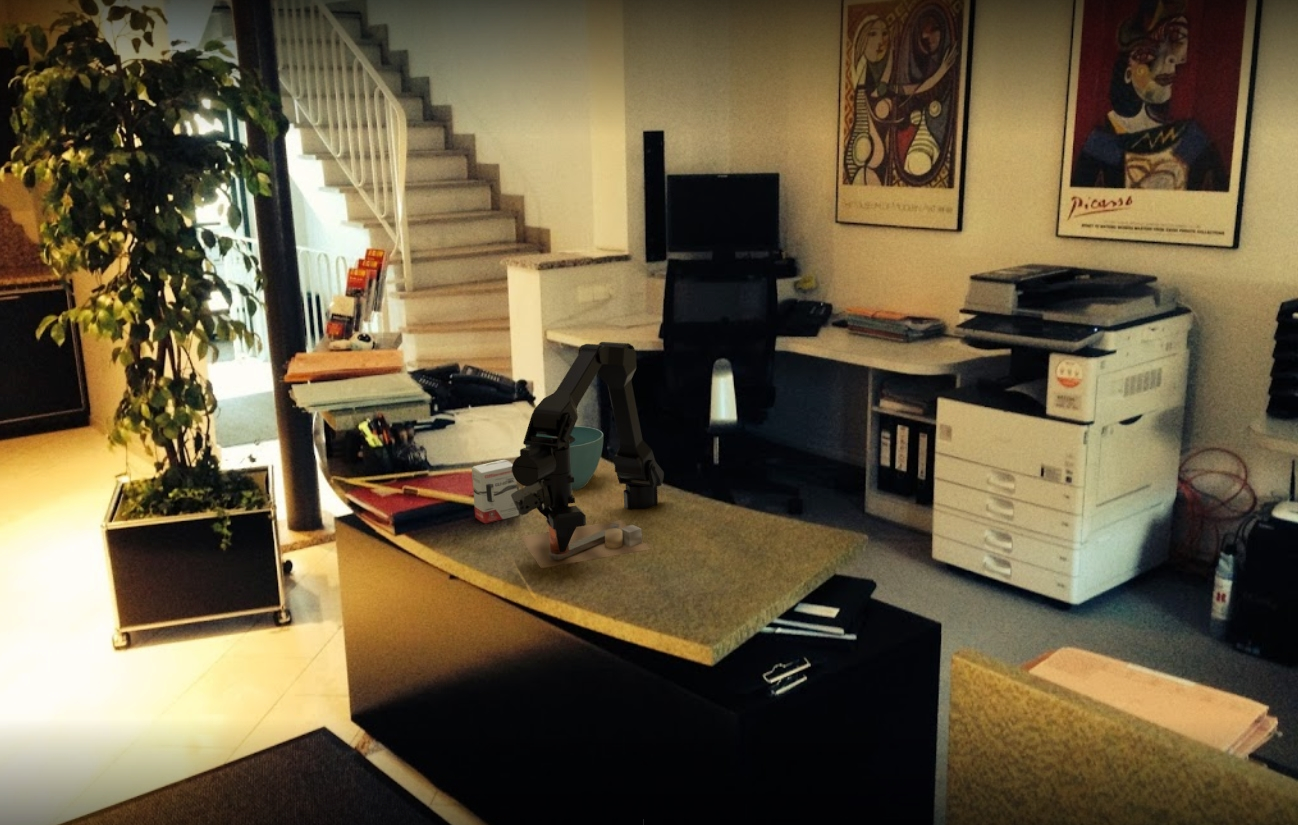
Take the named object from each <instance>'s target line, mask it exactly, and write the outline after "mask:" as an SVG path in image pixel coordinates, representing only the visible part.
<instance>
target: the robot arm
mask: <svg viewBox="0 0 1298 825" xmlns="http://www.w3.org/2000/svg"><path fill="white" fill-rule="evenodd" d="M636 370H637V352H636V350H635V347H634V345H632V344H631V343H629V342H628V343H627V342H615V341H614V342H613V341H612V342H611V341H600V342H599V343H598V344H596V343H585V344H582V345H581V346H579V349H578V354H577V356H576V358H575V359H574V361H573V363H572V364H571V365H570V367H569V369H568V371H567V372H566V374H565V376H564V377H563V379H562V380H561V382H560V384H559V385H558V387H557V388H556V390H554V392H553V393H552V394H549V395H548V396H546V397H544V398H542V400H541V401H540V402H539V403H538V404H537V405H536V407H535V408H534V409H533V411H532V414H531V415H530V416H531V417H530V419H529V422H528V427H527V430H526V433H525V436H524V438H523V439H524V440H523V442H522V443H523V445H524V446H525V445H530V446H529V447H527V448H526V447H523V448H520V450H519V456H517V457H516V458H515V459H514V461H513V462H512V464H513V466H512V473H513V476H514V478H515V479H516V481H517V484H518V483H519V485H522V486H524V487H522V488H520V489H517V491H516V492H514V493H512V494H511V497H512V499H513V501H514V504H515V506H516V508H517V510H518V511H519V515H520V516H524V515H527V514H529V512H531V511H533V510H536V509H537V511H538V512H539V513H541V515H543V516H544V517H545V520H546V521H545V522H546V523H547V525H548V524H549V525H550V526H551V527H552V528H553V529H554V530H555V534H556V539H557V544H558V548H559V551H560V552H565V551H566V548H567V546H568V544H569V542H570V539H571V537H572V535H573V533H574V531H575V529H576V527H582V526H587V518H586V514H585V513H584V512H583V510H582V509H581V508H580V507H578V506H577V505H571V506H570V504H576V498H575V496H574V495H573V491H572V484H571V483H572V482H574V477H573V476H572V474H571V459H570V444H571V443H573V442H575V438H574V437H573V436H571V435H570V434H571V432H572V430H573V429H574V426H576V423H577V421H578V419H579V416H578V407H579V405H580V402H581V401H582V399H583V397H584V396H585V394H586V392H587V391H588V389H589V387H590V386H591V384H592V382H593V381H594V379H595V377H596V375H598V376H599V377H600V379H601V381H603V382H604V383H605V384H606V385H607V389H608V392H609V399H610V403H611V408H612V412H613V417H614V422H615V423H614V424H615V428H616V433H617V437H618V443H619V446H618V449H617V451H616V453H615V454H614V456H613V458H612V461H613V465H614V472H615V473H616V476H617V480H618V483H619V485H625V489H624V490H623V507H624V508H625V509H627V510H642V511H643V510H650V509H651V508H654V507H656V506H658V505H659V502H658V501H659V500H658V487H661V486H662V483H663V482H664V476H665V472H664V471H663V469H662V468H661V466H660V465H659V464H658V463H657V461H656V458H655V456H654V452H653V449H652V448H651V447H650V446H649V445H648V444H647V443H646V441H644V440H643V439H644V438H643V436H642V435H643V434H642V429H641V424H640V420H639V414H638V409H637V404H636V398H635V392H634V387H633V383H632V382H633V379H632V378H633V376H634V374H635V372H636ZM536 434H539V435H546V436H554V437H552V438H549V437H540V436H536ZM548 519H549V520H548ZM549 525H548V527H549Z"/></svg>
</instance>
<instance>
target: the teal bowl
mask: <svg viewBox="0 0 1298 825" xmlns="http://www.w3.org/2000/svg"><path fill="white" fill-rule="evenodd" d="M570 435H571V436H573V437H574V438H575V442H573V443H571V444H570V459H571V474H572V476H573V477H574V482H572V483H571V484H572V492H574V491H579V490H581V489H583V488H584V487H585V486H586V485H587V484H588V483H589V481H590V480H591V479H592V477H593V476H594V473H595V472H596V470H597V468H598V465H599V462H600V460H601V458H602V453H603V446H604V433H603V432H602V431H601V430H600V429H597V428H593V427H589V426H582V425H580V426H579V425H575V426H574V429H573V430H572V432H571V434H570ZM536 436H540V437H549V438H552V437H554V436H546V435H539V434H536ZM524 446H525V448H527V447H529V446H530V445H524Z"/></svg>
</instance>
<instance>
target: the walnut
mask: <svg viewBox="0 0 1298 825" xmlns="http://www.w3.org/2000/svg"><path fill="white" fill-rule="evenodd" d="M605 547H606V548H608V549H618V548H621V547H623V533H622V530H621V529H617V528H612V529H608V530H606V531H605Z"/></svg>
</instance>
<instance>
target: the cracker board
mask: <svg viewBox="0 0 1298 825" xmlns="http://www.w3.org/2000/svg"><path fill="white" fill-rule="evenodd" d="M612 528H617V529H621V530H622V533H623V547H621V548H618V549H608V548H606V547H605V542H602V543H600V544H597V545H595V546H593V547H590V548H588V549H585V550H583V551H580V552H578V553H575V554H573V555H571V556H568V557H566V558H563V559H561V560H555V559H552V558H550V555H549V552H550V539H549V531H545V532H539V533H533V534H528V535H522V536H519V538H520V540H521V542H522V543H523V545H524V546H525V547H526V549H527V551H528V552H529V553H530V554H531V556H532V557H533V559H534V560H535V562H536V563H537V565H538V566H539V567H540V569H544V568H545V569H547V568H551V567H556V566H563V565H568V564H569V565H570V564H574V563H579V562H585V561H592V560H597V559H603V558H608V557H614V556H615V557H616V556H620V555H625V554H632V553H637V552H638V553H639V552H644V551H648V550H651V547H649V546H648V545H647V544H646V543H645V542H644V541H643V535H642V528H641V527H638V526H636V525H634V524H630V525H627V524H626V523H625V522H624V520H622V519H619V520H612V521H608V522H607V521H606V522H601V523H596V524H588V525H585V526H581V527H576V529H575V531H574V533H573V535H572V537H571V539H570V542H569V544H570V543H573V542H575V541H578V540H580V539H583V538H585V537H588V536H590V535H593V534H595V533H598V532H600V531H603V530H608V529H612Z"/></svg>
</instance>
